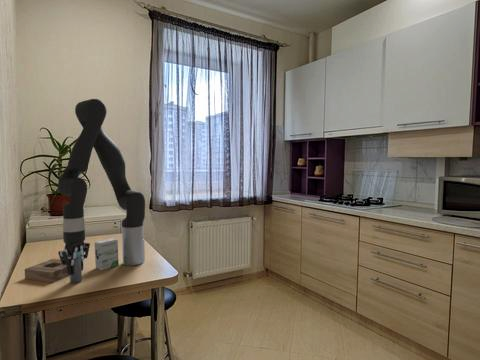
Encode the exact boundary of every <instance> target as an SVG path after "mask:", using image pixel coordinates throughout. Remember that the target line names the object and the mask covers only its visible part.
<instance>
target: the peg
mask: <svg viewBox="0 0 480 360" xmlns="http://www.w3.org/2000/svg"><path fill="white" fill-rule="evenodd" d="M69 257H72V256H70V255H69ZM70 262H71V259H70ZM73 265H74V275H69V283H70V284H72V285H75V284H79V283H82V282H83V280H82V279H83V277H82V271H81V251H78V252H77V253H76V259H74V264H73Z"/></svg>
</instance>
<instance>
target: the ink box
mask: <svg viewBox="0 0 480 360" xmlns="http://www.w3.org/2000/svg"><path fill="white" fill-rule="evenodd" d="M118 243H119V242H118V239H116V238H107V239H104V240H100V241H94V255H95V256H94V257H95V261H94V262H95V269H97V270H99V271H103V270H107V269H111V268H114V267H117V266H120V264H119V246H118V245H119V244H118Z"/></svg>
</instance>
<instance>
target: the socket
mask: <svg viewBox="0 0 480 360" xmlns="http://www.w3.org/2000/svg"><path fill="white" fill-rule="evenodd" d="M67 277H70V275H69V274H68V273H67V265H62V262H61V260H60V258H52V259H49V260H46V261H44V262H43V261H42V262H40V263H38V264H34V265H32V266H29V267H26V268H24V280H30V279H31V280H32V281H38V282H44V283H45V282H46V283H55V282H57V281H60V280H62V279H64V278H67ZM31 280H30V281H31Z"/></svg>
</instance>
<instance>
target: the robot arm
mask: <svg viewBox="0 0 480 360" xmlns="http://www.w3.org/2000/svg"><path fill="white" fill-rule="evenodd" d="M107 112H108V111H107V107H106V105H105V103H104V102H103V101H102V100H101V99H98V98H90V99H87V100H86V99H85V100H82V101H79V102H78V103H77V104H76V105H75V108H74V114H75V116H76V119H77V120H78V122H79V124H80V125H81V127H82V130H81V132H80V134H79V136H78V138H77V139H76V140H75V142H74V144H73V147H72V148H71V151H70V155H69V158H68V162H67V165H66V167H65V168H64V170H63V172H62V174H61V175H60V177H59V179H58V183H57V190H58V191H59V193H60V194H61V195H64V196H68V197H69V196H70V197H69V202H65V203H64V204H63V206H62V214H63V215H62V218H63V219H62V220H63V221H62V233H63V236H62V237H63V241H62V242H63V243H64V245H65V246H64V247H63V248H64V249H63V250H59V251H58V253H57V254H58V256H59V259H60V260H61V262H62V265H67V273H68V274H69V276H70V275H74V265H73V264H74V259H76V253H77V252H78V251H81V272H82V271H84V261H85V259H87V258H88V256H89V250H90V246H91V243H89V242H85V241H86V224H85V214H84V212H85V209H84V205H85V202H86V197H87V194H88V184H87V182H86V180H85V179H84V178H81V177H80V175H81V174H85V173H86V172H87V170H88V167H89V163H90V159H91V155H92V152H93V149H94V151H95V154H96V155H97V158H98V159H99V162H100V164H101V167H102V168H103V170H104V172H105V173H106V177H107V178H108V180H109V183H110V185H111V187H112V189H113V192H114V195H115V198H116V200H117V204H118V205H119V208H121V209H122V210H124V211H126V215H125V216H126V217H125V218H124V219H122V221H121V235H122V236H121V239H122V240H121V243H122V244H121V245H122V264H123V266H128V267H129V266H139V265H141V264H143V263H144V262H145V260H146V259H145V256H146V255H145V240H144V221H145V217H146V212H145V211H146V199H145V196H144V194H143V193H142V192H141V191H137V190H132V189H131V187H130V185H129V182H128V180H127V178H126V162H125V159H124V156H123V154H122V152H121V150H120V149H119V147H118V145H117V144H116V143H115V142H114V141H113V140H112V139H111V138H110V136H108V135H107V134H106V133H105V131H104V130H103V128H102V126H103V123H104V121H105V119H106V116H107ZM69 255H70V256H72V257H69ZM70 259H71V262H70Z"/></svg>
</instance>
